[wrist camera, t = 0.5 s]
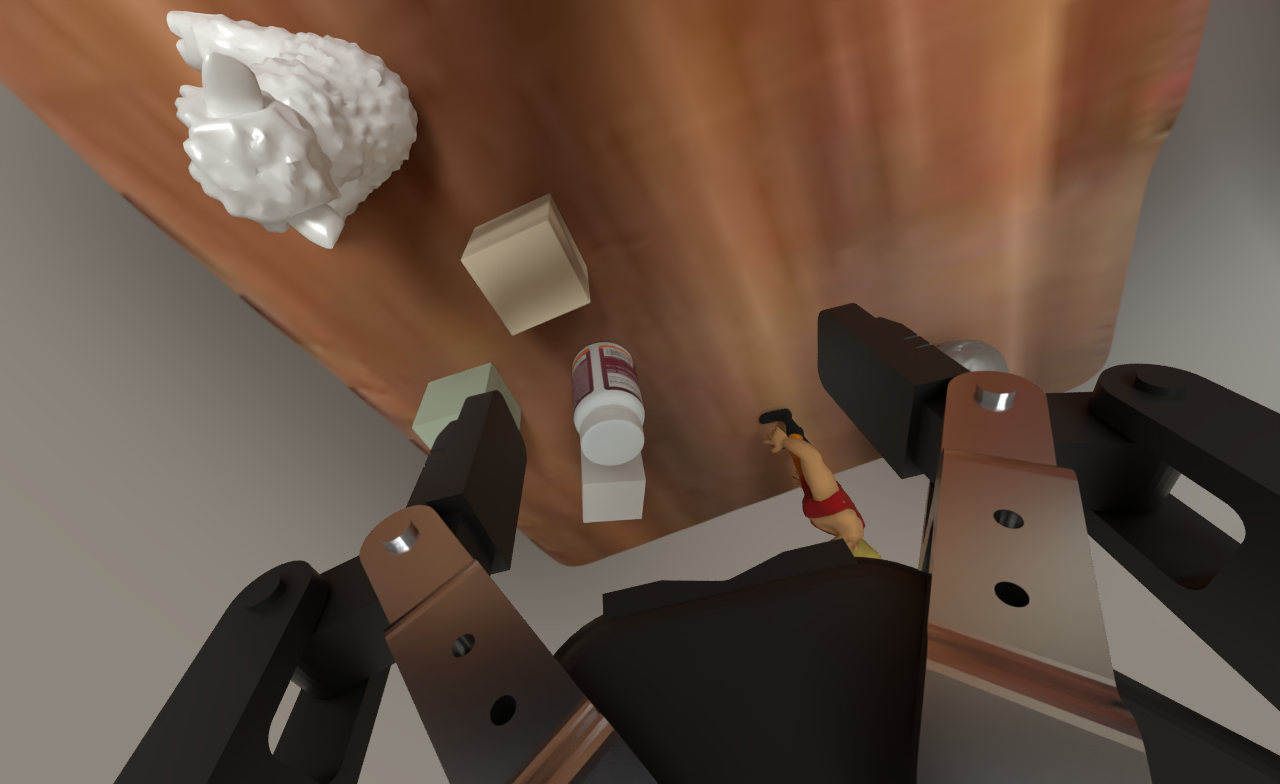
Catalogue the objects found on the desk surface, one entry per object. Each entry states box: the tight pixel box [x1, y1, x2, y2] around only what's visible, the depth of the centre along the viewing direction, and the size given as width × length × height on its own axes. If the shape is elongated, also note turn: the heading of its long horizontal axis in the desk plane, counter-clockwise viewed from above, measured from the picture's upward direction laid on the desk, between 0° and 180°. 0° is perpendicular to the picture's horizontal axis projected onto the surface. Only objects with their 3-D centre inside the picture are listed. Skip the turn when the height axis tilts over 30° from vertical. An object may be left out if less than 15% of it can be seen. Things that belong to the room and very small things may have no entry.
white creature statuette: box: [167, 11, 418, 249], centre depth 18 cm, size 10×9×12 cm
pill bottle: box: [572, 342, 645, 466], centre depth 31 cm, size 5×5×8 cm
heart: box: [937, 340, 1010, 373], centre depth 35 cm, size 10×10×12 cm
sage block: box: [412, 362, 522, 449], centre depth 33 cm, size 5×5×5 cm
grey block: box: [581, 450, 646, 523], centre depth 39 cm, size 5×5×5 cm
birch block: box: [461, 193, 591, 336], centre depth 26 cm, size 5×5×5 cm
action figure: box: [759, 409, 881, 559], centre depth 35 cm, size 10×4×15 cm, turn 35°
